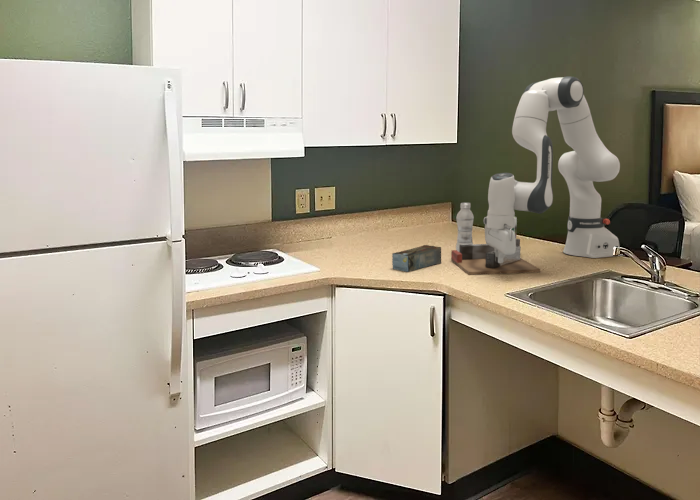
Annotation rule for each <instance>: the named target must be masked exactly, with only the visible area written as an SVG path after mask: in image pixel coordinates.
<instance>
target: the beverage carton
mask: <svg viewBox="0 0 700 500" xmlns="http://www.w3.org/2000/svg"><path fill="white" fill-rule="evenodd" d="M391 256H392V258H391V259H392V261H391V264H392V269H393V270H397V271H402V272H406V273H410V272H413V271H417V270H421V269H425V268H428V267H430V266H431V267H432V266H435V265H438V264H442V247H441V246H435V245H429V244H423V245H421V246H416V247H413V248H409V249H406V250H405V249H404V250H401V251H396V252H392V255H391Z"/></svg>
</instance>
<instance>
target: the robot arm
mask: <svg viewBox="0 0 700 500" xmlns="http://www.w3.org/2000/svg"><path fill="white" fill-rule="evenodd" d="M584 92H585V90H584V84H583V83H582V81H581V80H580V79H579V78H578V77H576V76H569V75H568V76H567V75H566V76H564V77H563V76H562V77H561V76H560V77H552V78H548V79H545V80H542V81H541V80H540V81H535V82H531V83H530V84H528V85H527V86H526V88H525V89H524V91H523V93H522V95H521V97H520V99H519V102H518V105H517V107H516V110H515V114H514V118H513V123H512V128H511V134H512V137H513V139H514V141H515V142H516V143H517V145H519V146H520V147H522V148H524V149H527V150H528V151H531V152H533V153H534V155H536V179H535V181H534V182H526V181H518V180H516V179H515V176H514V174H513V173H510V172H499V173H495V174H493V175H492V176H490V179H489V185H488V190H487V191H488V192H487V193H488V194H487V202H488V210H487V215H486V216H484V218H483V225H484V240H485V241H484V242H485V244H488V245H490V246H491V247H493V248H494V252H495V256H496V262H498V263H503V259H504V256H505V255H512V254H515V252H516V239H517V236H516V237H515V233H514V231H512V228H514V217H516V216H515V215H516V214H515V210H516V211H524V212H530V213H533V214H534V213H535V214H543V213H545V212H546V211H548V209H550V208H551V207H552V204H553V202H554V193H553V192H554V190H553V161H554V156H553V155H554V149H553V148H554V147H553V140H552V139H551V137H549V136H548V133H547V123H548V117H549V112H554V111H556V112H557V118H558V121H559V126H560V129H561V133H562V136H563V140H564V142H565V144H567V146H569V147H570V148H572V149H573V150H572V151H568V152H564V153H563V154H562V155H561V156H560V158H559V160H558V161H557V162H558V163H557V169H558V171H559V173H560V174H561V175H562V177H563V178H564V180H565V183H566V184H567V189H568V192H569V216H568V219H567V235H566V241H565V244H564V248H563V251H562V252H563V253H564V254H566V255H570V256H576V257H585V258H591V259H598V258H608V257H614V256H613V247H614V246H618V247H619V248H620V241H619V238H618V236H616V235H615V234H614V233H612V232H611V231H610V230H609V229H607V227H605V225H610V224H611V221H610V219H609V218H603V217H601V211H602V197H601V194H600V193H599V192H598V191H597V190H596V188H595V186H594V182H598V183H599V182H601V183H602V182H610V181H612V180H614V179H615V178H616V177H617V176H618V174H619V173H620V169H621V163H620V160H619V158H618V157H617V156H616V155H615V154H614V153H612V152H611V151H610V150H609V149H608V148H607V147H606V146H605V144H604V142H603V141H602V140H601V138H600V137H599V134H598V133H597V131H596V127H595V124H594V121H593V117H592V114H591V109H590V107H589V104H588V101H587V99H586V97H585V94H584ZM619 256H620V257H621V256H624V255H623V254H620V255H618V256H617V257H619Z"/></svg>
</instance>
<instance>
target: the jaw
mask: <svg viewBox="0 0 700 500" xmlns="http://www.w3.org/2000/svg"><path fill="white" fill-rule="evenodd" d="M520 258H521V245H520V246H516V252H515V254H512V255H505V256H504V259H503V263H498V262H496V256H495V252H494V251H491V252H488V253H486V264H485V267H487V268H493V269H494V268H497V267H500V266H502V265H505V264H509V263H512V262H515V261H518V260H520Z"/></svg>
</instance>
